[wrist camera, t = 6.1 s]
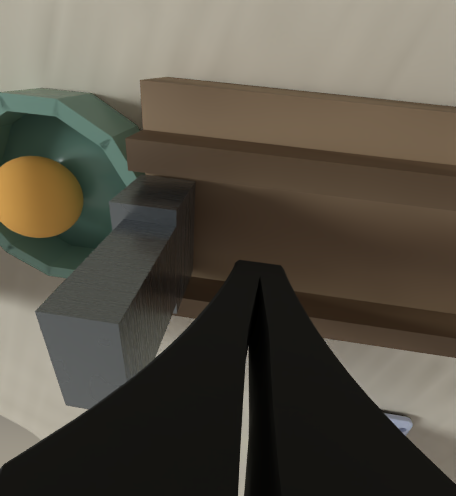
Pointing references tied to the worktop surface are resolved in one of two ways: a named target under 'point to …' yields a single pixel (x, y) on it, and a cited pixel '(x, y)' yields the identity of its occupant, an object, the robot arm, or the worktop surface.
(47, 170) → the ball
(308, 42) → the worktop surface
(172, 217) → the gray l-shaped bracket
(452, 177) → the brown wooden moulding block
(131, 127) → the teal shallow dish
